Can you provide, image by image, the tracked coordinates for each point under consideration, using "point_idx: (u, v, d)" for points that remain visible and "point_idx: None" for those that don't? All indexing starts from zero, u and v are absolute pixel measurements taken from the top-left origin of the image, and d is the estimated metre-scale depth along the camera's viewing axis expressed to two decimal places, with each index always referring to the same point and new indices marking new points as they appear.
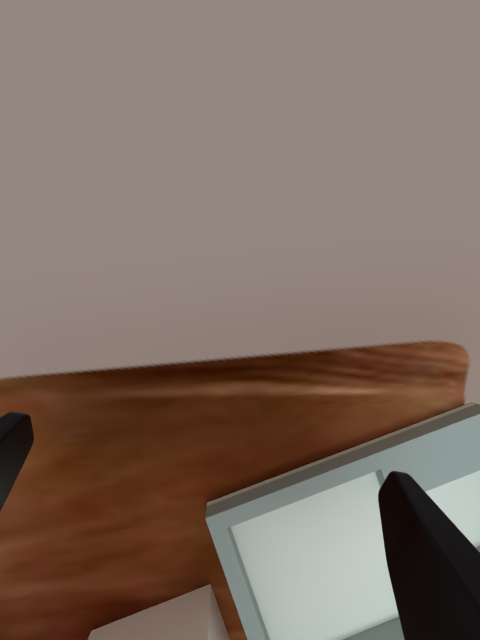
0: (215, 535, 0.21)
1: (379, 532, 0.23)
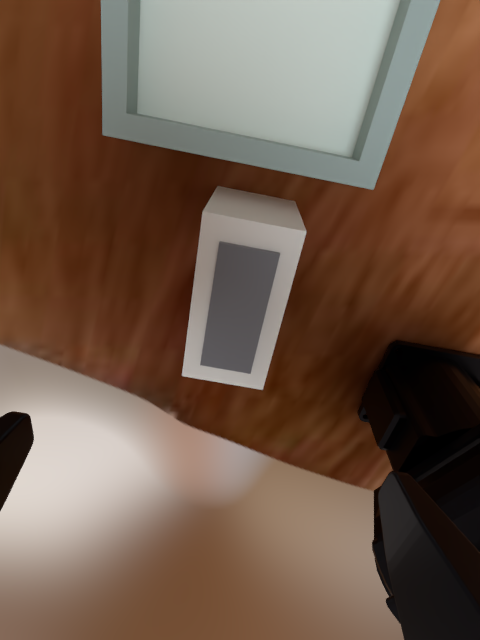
0: (129, 134, 0.15)
1: None
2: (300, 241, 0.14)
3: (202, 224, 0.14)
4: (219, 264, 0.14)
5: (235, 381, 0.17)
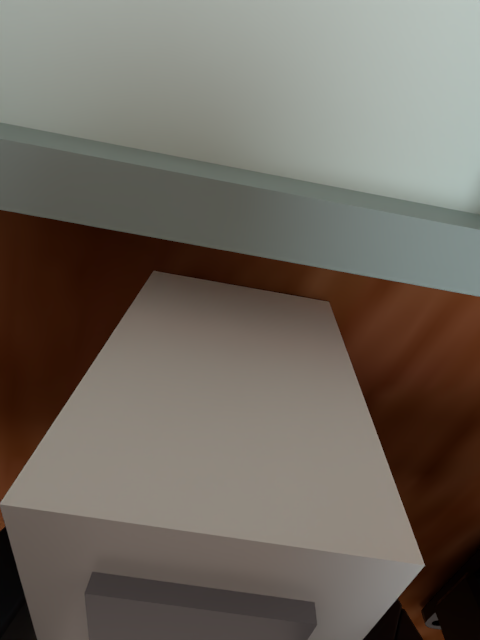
0: None
1: None
2: (395, 584, 0.04)
3: (14, 534, 0.04)
4: (100, 631, 0.04)
5: None
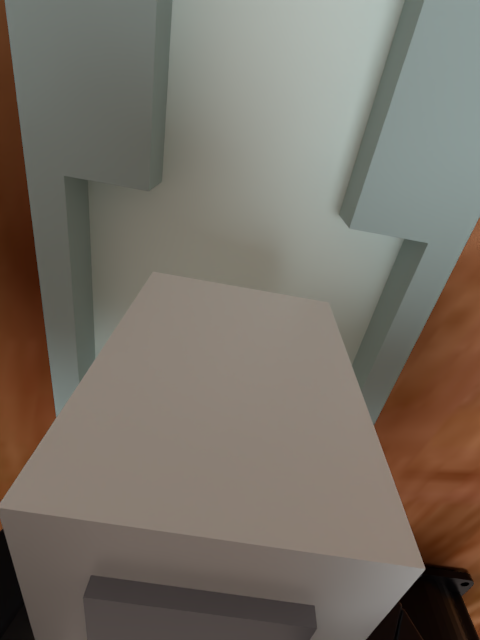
0: None
1: (230, 229, 0.12)
2: (395, 587, 0.04)
3: (12, 537, 0.03)
4: (99, 634, 0.04)
5: None
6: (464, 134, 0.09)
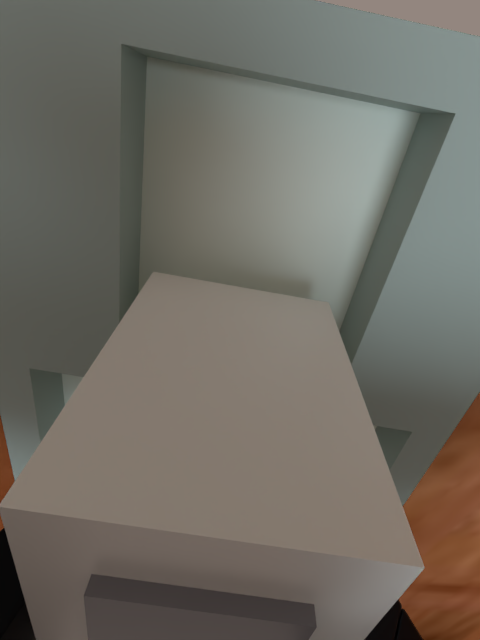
0: None
1: None
2: (394, 586, 0.04)
3: (13, 536, 0.04)
4: (100, 633, 0.04)
5: None
6: (448, 347, 0.08)
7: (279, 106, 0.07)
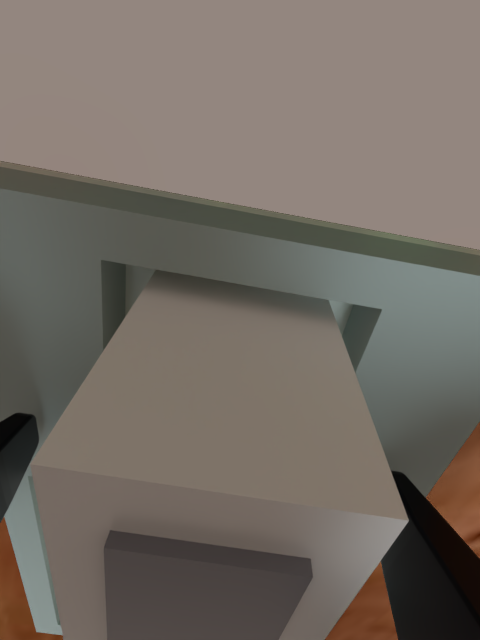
0: None
1: None
2: (383, 539, 0.04)
3: (41, 493, 0.04)
4: (117, 585, 0.04)
5: None
6: (394, 466, 0.09)
7: None
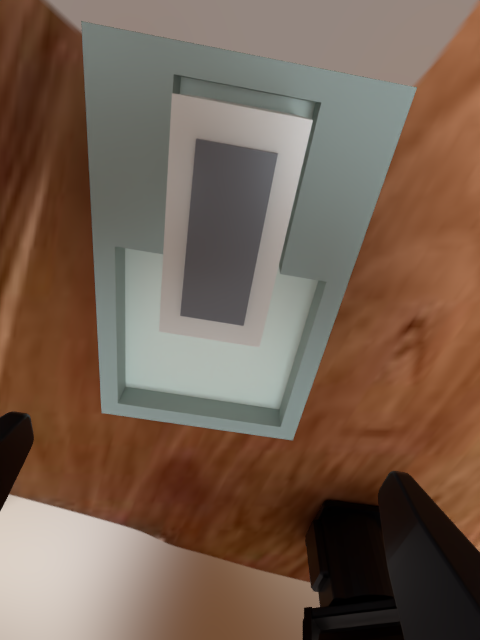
0: (120, 412, 0.22)
1: None
2: (304, 135, 0.10)
3: (173, 113, 0.10)
4: (197, 171, 0.11)
5: (225, 337, 0.14)
6: (337, 225, 0.16)
7: (245, 100, 0.15)
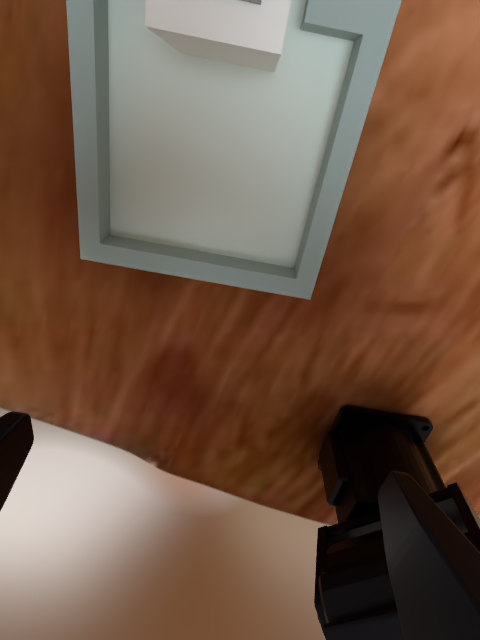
0: (103, 258, 0.18)
1: None
2: None
3: None
4: None
5: (235, 34, 0.10)
6: None
7: None
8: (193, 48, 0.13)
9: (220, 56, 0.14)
